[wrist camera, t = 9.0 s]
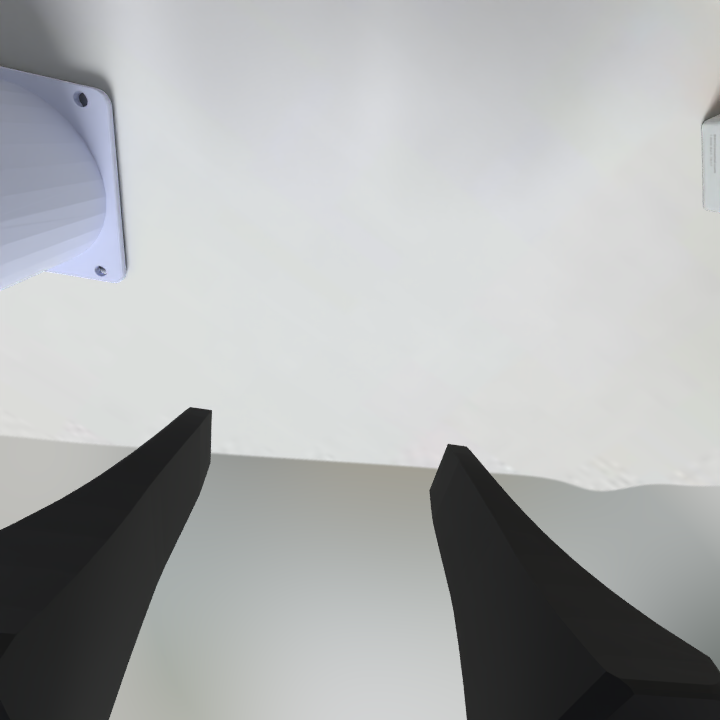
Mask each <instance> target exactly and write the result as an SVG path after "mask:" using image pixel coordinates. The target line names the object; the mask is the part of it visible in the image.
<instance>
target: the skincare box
mask: <svg viewBox="0 0 720 720" xmlns="http://www.w3.org/2000/svg"><path fill="white" fill-rule="evenodd" d="M701 130H702V156H703V204H704V209H705V210H707V211H711V212H716V213H720V114H719V115H717V116H715V117H712V118H710V119H708V120H706V121H705V122H704V123H703V125H702V127H701Z"/></svg>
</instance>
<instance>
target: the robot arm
mask: <svg viewBox="0 0 720 720" xmlns="http://www.w3.org/2000/svg"><path fill="white" fill-rule="evenodd" d="M81 93H84V94H85V96H86V97H87V100H88V103H87V105H86V106H85V107H84V106H83V105H82V104H81V103H80V100H79V95H80V94H81ZM99 266H102V267H103V268H104V269H105V270H106V272H107V273H106V274H104V273H102V272H101V271H100V269H99ZM44 271H46V272H52V273H58V274H64V275H70V276H76V277H82V278H88V279H93V280H99V281H105V282H111V283H118V282H120V281H122V280H123V279H124V278H125V277H126V265H125V253H124V241H123V230H122V218H121V206H120V194H119V182H118V171H117V159H116V147H115V135H114V124H113V112H112V104H111V100H110V99H109V97H108V95H107V94H106V93H105V92H104V91H102V90H100V89H98V88H94V87H90V86H85V85H81V84H76V83H72V82H68V81H63V80H59V79H55V78H50V77H46V76H41V75H37V74H33V73H28V72H24V71H20V70H15V69H11V68H6V67H2V66H0V291H2V290H4V289H6V288H8V287H11V286H13V285H15V284H17V283H19V282H22V281H24V280H26V279H28V278H31V277H33V276H35V275H37V274H40V273H42V272H44ZM211 421H212V410H206V409H199V408H192V407H190V408H188V409H187V410H186V411H184V412H183V413H182V414H181V415H179V416H178V417H177V418H176V419H175V420H173V421H172V422H171V423H170V424H169V425H167V426H166V427H165V428H164V429H162V430H161V431H160V432H159V433H157V434H156V435H155V436H154V437H152V438H151V439H150V440H148V441H147V442H146V443H144V444H143V445H142V446H140V447H139V448H138V449H137V450H135V451H134V452H133V453H131V454H130V455H128V456H127V457H126V458H124V459H123V460H121V461H120V462H118V463H117V464H115V465H114V466H113V467H111V468H110V469H108V470H107V471H105V472H104V473H102V474H101V475H100V476H98V477H96V478H95V479H93V480H92V481H90V482H89V483H87V484H85V485H84V486H82V487H80V488H79V489H77V490H75V491H74V492H72V493H70V494H69V495H67V496H65V497H63V498H62V499H60V500H58V501H56V502H54V503H53V504H51V505H49V506H47V507H45V508H43V509H41V510H39V511H37V512H36V513H33V514H31V515H29V516H27V517H25V518H23V519H22V520H20V521H18V522H16V523H14V524H12V525H10V526H8V527H6V528H3V529H1V530H0V720H109V717H110V714H111V712H112V708H113V705H114V703H115V700H116V697H117V694H118V691H119V688H120V685H121V682H122V679H123V677H124V673H125V671H126V668H127V665H128V662H129V659H130V656H131V654H132V651H133V648H134V645H135V643H136V640H137V637H138V634H139V631H140V629H141V626H142V623H143V620H144V618H145V615H146V612H147V610H148V607H149V604H150V602H151V599H152V596H153V593H154V591H155V588H156V586H157V583H158V581H159V579H160V576H161V574H162V572H163V569H164V567H165V565H166V563H167V561H168V559H169V557H170V555H171V553H172V551H173V549H174V547H175V544H176V542H177V540H178V538H179V536H180V534H181V532H182V530H183V528H184V526H185V524H186V522H187V520H188V518H189V515H190V513H191V511H192V509H193V507H194V505H195V502H196V501H197V499H198V497H199V494H200V491H201V489H202V486H203V483H204V480H205V477H206V474H207V471H208V468H209V465H210V457H211ZM430 500H431V510H432V519H433V524H434V529H435V533H436V538H437V542H438V546H439V550H440V554H441V558H442V562H443V566H444V570H445V575H446V579H447V583H448V587H449V591H450V595H451V600H452V605H453V610H454V617H455V624H456V631H457V638H458V645H459V651H460V660H461V668H462V676H463V685H464V694H465V704H466V715H467V720H720V671H719V670H718V668H717V667H716V666H715V664H714V663H713V661H712V660H711V659H710V657H708V656H707V655H705V654H703V653H702V652H700V651H699V650H697V649H696V648H694V647H692V646H691V645H689V644H688V643H686V642H685V641H683V640H682V639H680V638H679V637H677V636H675V635H674V634H672V633H671V632H669V631H668V630H666V629H664V628H663V627H661V626H660V625H658V624H656V622H654V621H653V620H651V619H650V618H648V617H647V616H646V615H644V614H643V613H641V612H640V611H639V610H637V609H636V608H634V607H633V606H631V605H630V604H629V603H627V602H626V601H625V600H623V599H622V598H620V597H619V596H618V595H617V594H615V593H614V592H613V591H611V590H610V589H609V588H607V587H606V586H605V585H604V584H602V583H601V582H600V581H599V580H597V579H596V578H595V577H594V576H592V575H591V574H590V573H588V572H587V571H586V570H585V569H584V568H582V567H581V566H580V565H579V564H578V563H577V562H576V561H574V560H573V559H572V558H571V557H570V556H569V555H568V554H566V553H565V552H564V551H563V550H562V549H561V548H560V547H559V546H558V545H556V544H555V543H554V542H553V541H552V540H551V539H550V538H549V537H548V536H547V535H546V534H545V533H543V531H542V530H541V529H540V528H539V527H538V526H537V525H536V524H535V523H534V522H533V521H532V520H531V519H530V518H529V517H528V516H527V515H526V514H525V513H524V512H523V511H522V510H521V508H520V507H519V506H518V505H517V504H516V503H515V502H514V501H513V500H512V499H511V498H510V496H509V495H508V494H507V493H506V492H505V491H504V490H503V489H502V487H501V486H500V485H499V484H498V483H497V482H496V480H495V479H494V478H493V477H492V476H491V474H490V473H489V472H488V471H487V470H486V468H485V467H484V466H483V465H482V464H481V463H480V461H479V460H478V459H477V458H476V457H475V455H474V454H473V453H472V452H471V451H470V450H469V449H468V448H467V447H465V446H458V445H451V444H448V445H447V448H446V450H445V453H444V455H443V458H442V460H441V463H440V465H439V468H438V471H437V473H436V476H435V478H434V481H433V483H432V486H431V488H430Z"/></svg>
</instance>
